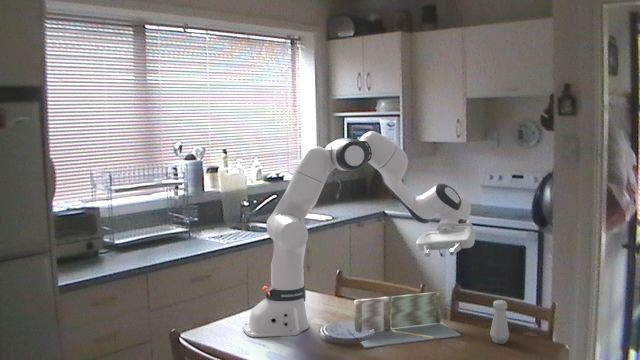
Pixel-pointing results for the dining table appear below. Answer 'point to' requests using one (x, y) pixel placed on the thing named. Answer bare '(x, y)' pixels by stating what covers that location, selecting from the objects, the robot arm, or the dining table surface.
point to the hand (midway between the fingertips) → (439, 254)
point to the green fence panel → (415, 309)
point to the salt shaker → (499, 323)
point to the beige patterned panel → (372, 314)
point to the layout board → (410, 334)
